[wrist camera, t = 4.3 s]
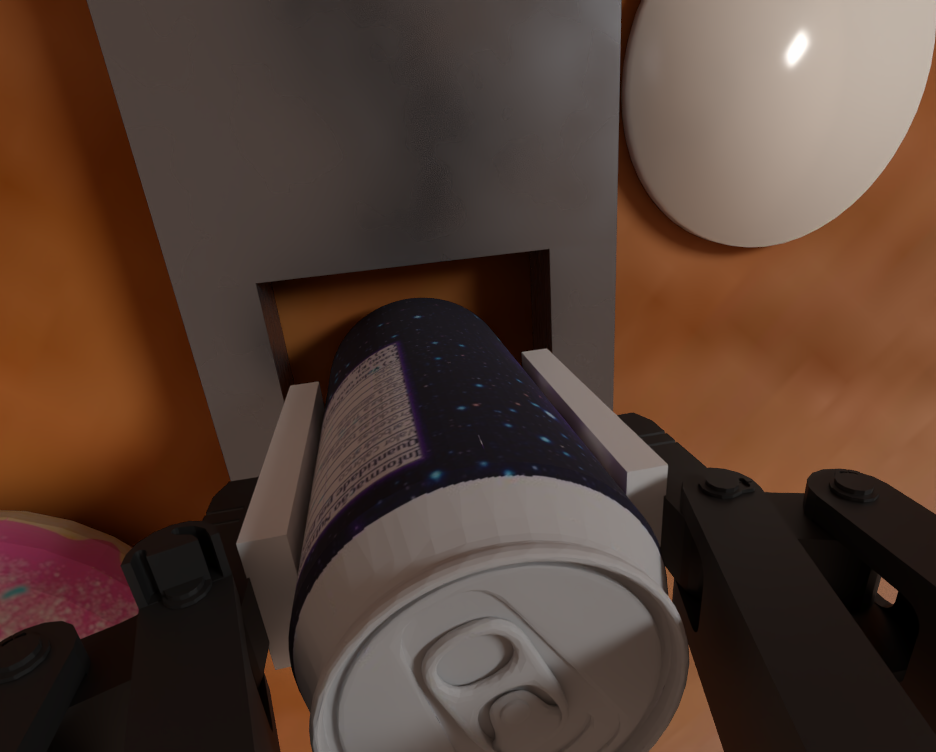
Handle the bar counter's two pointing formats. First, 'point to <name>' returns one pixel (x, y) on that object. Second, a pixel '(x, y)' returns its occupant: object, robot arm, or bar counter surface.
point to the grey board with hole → (368, 164)
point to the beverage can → (472, 560)
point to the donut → (60, 575)
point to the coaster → (769, 108)
